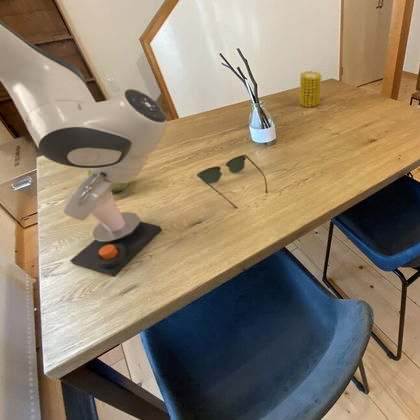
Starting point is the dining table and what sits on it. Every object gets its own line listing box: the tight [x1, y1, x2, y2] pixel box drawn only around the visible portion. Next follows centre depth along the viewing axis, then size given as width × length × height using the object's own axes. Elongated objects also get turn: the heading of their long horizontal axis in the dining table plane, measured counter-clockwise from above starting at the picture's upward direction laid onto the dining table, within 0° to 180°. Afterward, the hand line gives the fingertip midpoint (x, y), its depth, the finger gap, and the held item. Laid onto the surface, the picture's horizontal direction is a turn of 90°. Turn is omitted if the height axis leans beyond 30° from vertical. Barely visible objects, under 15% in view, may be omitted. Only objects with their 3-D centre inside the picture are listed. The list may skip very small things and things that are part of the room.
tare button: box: [99, 245, 118, 260], centre depth 62 cm, size 3×3×2 cm
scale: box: [69, 220, 163, 278], centre depth 66 cm, size 15×12×3 cm
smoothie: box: [82, 178, 125, 231], centre depth 63 cm, size 6×6×14 cm
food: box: [299, 70, 322, 108], centre depth 127 cm, size 15×12×10 cm
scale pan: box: [92, 211, 141, 243], centre depth 68 cm, size 10×10×1 cm
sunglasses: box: [196, 154, 268, 209], centre depth 83 cm, size 16×17×5 cm
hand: (95, 198), depth 62 cm, fingers open, 8 cm apart
